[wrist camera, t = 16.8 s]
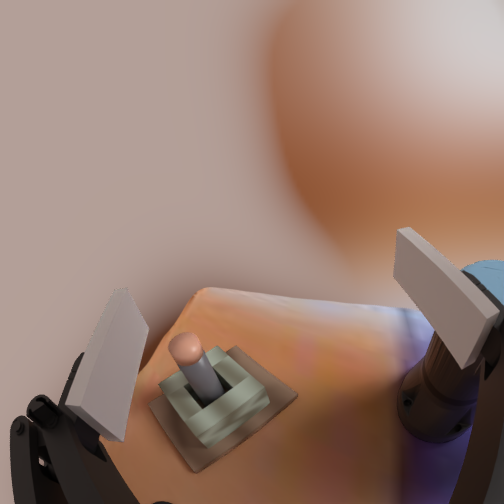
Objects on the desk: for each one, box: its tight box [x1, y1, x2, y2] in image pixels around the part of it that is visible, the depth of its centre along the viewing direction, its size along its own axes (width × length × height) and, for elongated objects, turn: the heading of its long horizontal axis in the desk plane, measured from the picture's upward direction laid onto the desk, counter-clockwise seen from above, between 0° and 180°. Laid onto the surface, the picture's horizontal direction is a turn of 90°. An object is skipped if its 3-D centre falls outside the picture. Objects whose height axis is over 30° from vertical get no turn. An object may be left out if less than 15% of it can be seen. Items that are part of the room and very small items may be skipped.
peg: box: [168, 332, 226, 407], centre depth 36 cm, size 4×4×15 cm
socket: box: [148, 346, 298, 473], centre depth 38 cm, size 20×16×6 cm
